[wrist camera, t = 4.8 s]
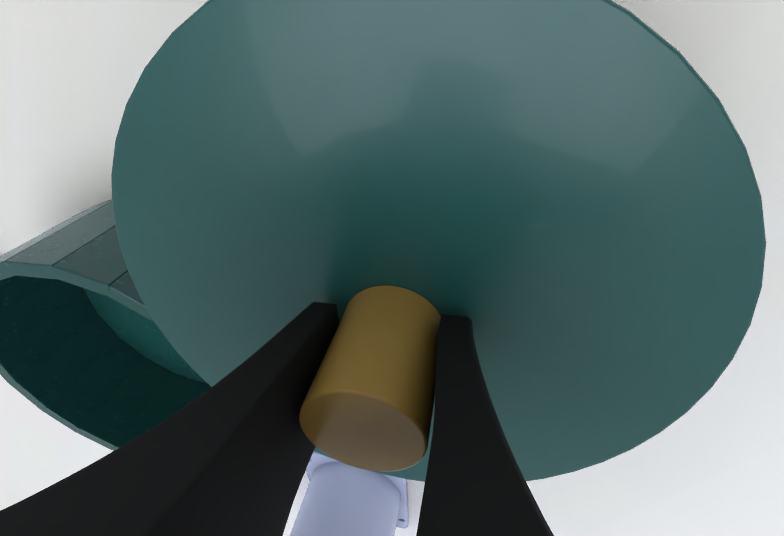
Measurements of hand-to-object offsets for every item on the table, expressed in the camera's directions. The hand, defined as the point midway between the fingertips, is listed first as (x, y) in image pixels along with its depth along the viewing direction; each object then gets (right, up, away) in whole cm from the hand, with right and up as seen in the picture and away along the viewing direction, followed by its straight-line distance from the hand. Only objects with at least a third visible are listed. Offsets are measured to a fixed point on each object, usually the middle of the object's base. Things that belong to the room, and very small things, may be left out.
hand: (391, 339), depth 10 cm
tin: (-12, -1, +14) cm, 19 cm away
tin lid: (0, +1, +1) cm, 1 cm away
